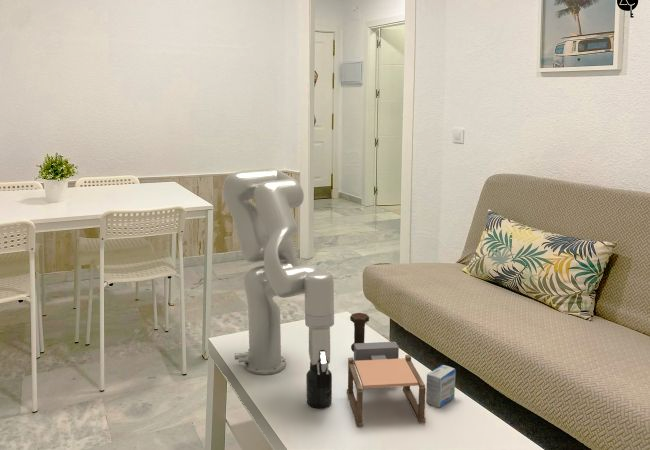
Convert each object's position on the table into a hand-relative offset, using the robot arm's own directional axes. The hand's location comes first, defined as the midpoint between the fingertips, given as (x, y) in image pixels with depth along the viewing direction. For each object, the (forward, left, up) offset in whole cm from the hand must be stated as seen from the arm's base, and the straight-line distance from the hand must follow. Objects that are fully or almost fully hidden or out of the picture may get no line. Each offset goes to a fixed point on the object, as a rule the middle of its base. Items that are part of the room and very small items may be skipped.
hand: (320, 379), depth 159 cm
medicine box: (+33, -1, -8) cm, 34 cm away
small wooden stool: (+17, -3, -7) cm, 18 cm away
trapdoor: (+17, 0, 0) cm, 17 cm away
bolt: (+15, +25, -8) cm, 30 cm away
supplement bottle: (0, +1, -8) cm, 8 cm away
